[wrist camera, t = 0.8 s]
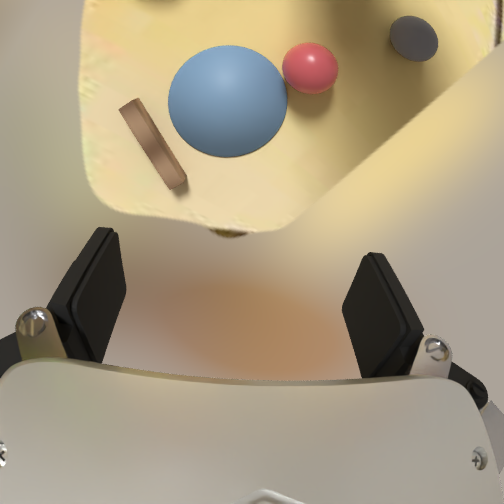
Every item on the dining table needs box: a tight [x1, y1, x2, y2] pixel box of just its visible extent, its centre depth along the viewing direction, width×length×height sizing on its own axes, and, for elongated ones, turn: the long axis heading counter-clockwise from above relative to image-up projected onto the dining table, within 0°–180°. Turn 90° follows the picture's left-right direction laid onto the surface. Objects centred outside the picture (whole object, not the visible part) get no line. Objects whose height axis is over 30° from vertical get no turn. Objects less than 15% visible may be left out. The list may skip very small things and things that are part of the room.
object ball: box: [282, 43, 338, 94], centre depth 27 cm, size 6×6×6 cm
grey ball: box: [390, 16, 438, 61], centre depth 24 cm, size 6×6×6 cm
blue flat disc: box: [168, 46, 287, 157], centre depth 32 cm, size 14×14×1 cm
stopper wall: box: [119, 98, 186, 190], centre depth 33 cm, size 12×2×2 cm, turn 26°
